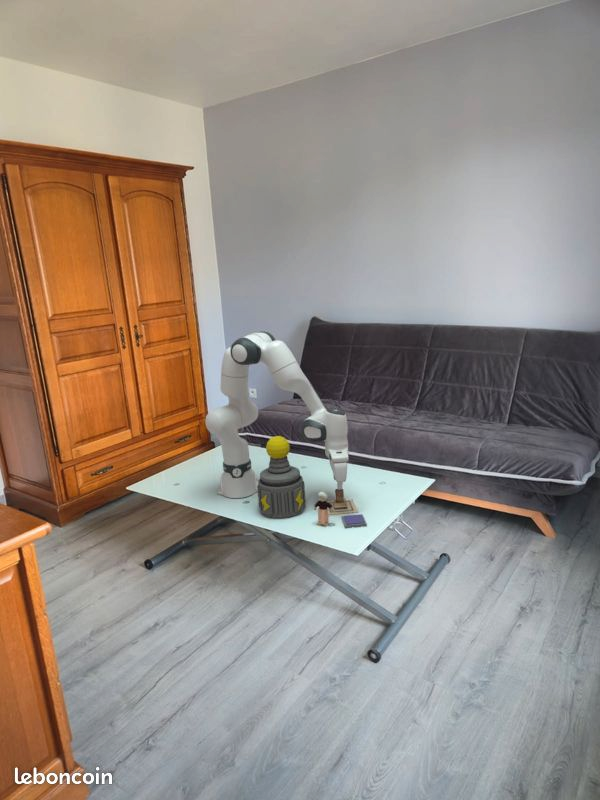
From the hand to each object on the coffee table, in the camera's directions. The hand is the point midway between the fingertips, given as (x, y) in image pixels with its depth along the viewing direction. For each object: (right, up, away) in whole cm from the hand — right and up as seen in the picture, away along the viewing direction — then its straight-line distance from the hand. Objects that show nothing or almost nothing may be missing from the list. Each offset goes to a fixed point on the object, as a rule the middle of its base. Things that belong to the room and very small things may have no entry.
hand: (337, 484), depth 209 cm
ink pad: (+5, -12, -12) cm, 18 cm away
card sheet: (+1, -9, +2) cm, 10 cm away
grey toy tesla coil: (-22, -11, +4) cm, 24 cm away
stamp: (+1, -9, +2) cm, 9 cm away
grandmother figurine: (-6, -13, -12) cm, 18 cm away
